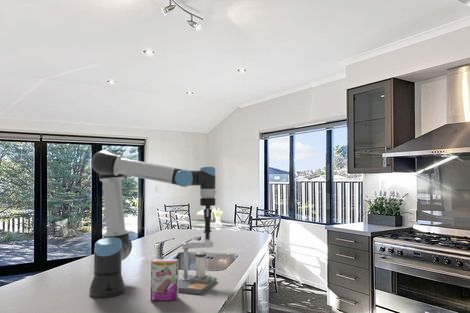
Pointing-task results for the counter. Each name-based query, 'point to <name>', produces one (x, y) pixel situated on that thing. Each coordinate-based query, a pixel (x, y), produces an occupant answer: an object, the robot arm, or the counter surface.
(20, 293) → the counter surface
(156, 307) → the counter surface
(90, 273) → the counter surface
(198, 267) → the clear cream cylinder
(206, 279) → the grey stand
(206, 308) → the counter surface
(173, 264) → the candy bar box
